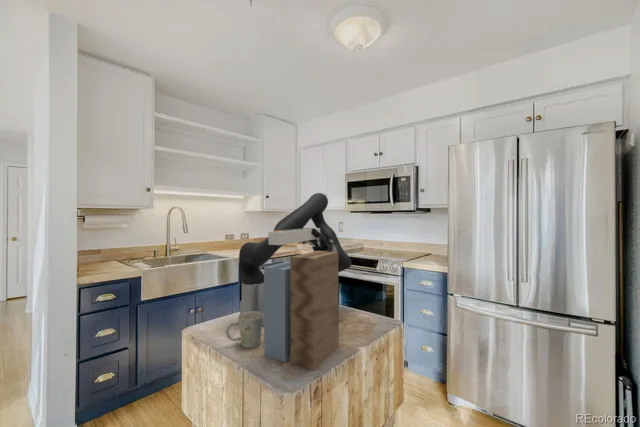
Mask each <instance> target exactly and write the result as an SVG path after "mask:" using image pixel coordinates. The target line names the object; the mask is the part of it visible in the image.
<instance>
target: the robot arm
mask: <svg viewBox="0 0 640 427" xmlns="http://www.w3.org/2000/svg"><path fill="white" fill-rule="evenodd" d="M328 199H329V198H328V197H327V195H325V194H324V193H323V192H322V193H320V192H316V193H314V194H312V195H311V196H310V197H309V198H308V199H307V200H306V201H305V202H304V203H303V204H302V205H301V206H299V207H297V208H296V209H294V210H293V211H291V212H290V213H289V214H287V215H286V216H285V217H284V218H282V219H281V220H279V221H278V222H277V223H276V225H274V228H273V230H272V231H280V230H291V229H302V228H305V226H306V225H307V224H308V223H309V221H310V220H311V221H312V222H313V225H314V226H315V227H311V228H312V231H311V233H312V235H313V236H314V237H316V239H314V240H308V241H302V242H301V243H302V244H303V245H306V243H308V244H309V245H310V246H311V247H312V250H313V252H314V251H329V252H338V274H339V273H340V272H341V273H342V272H343V271H345V270H347V269H350V268H351V266H352V260H351V257H350V256H349V255H348V254H347V253H346V252H345V250H344V249H343V247H342V245H341V243H340V241H339V238H338V236H337V234H336V232H335V231H334V229H333V228H331V227H330V225H329V224H328V223H327V222H326V220H325V218H324V211H325V210H326V209H327V207H328V205H329V200H328ZM315 228H320V232H318V231H317V230H316V229H315ZM283 246H284V245H269V241H268V236H267V237H266V238H265V239H263V240H261V241H260V242H252V241H250V242H245V243H244V244H243V245H242V246H241V247H240V250H239V254H238V265H239V266H238V267H239V269H238V270H239V276H240V278H241V300H240V301H239V315H240V314H242V313H245V312H252V311H255V312H261V313H262V314H263V321H262V327H264V272H262V270H261V268H260V266H263V265H264V264H266V263H267V262H268V261H269V260H270V259H271V258H272V257H273V256H274V254H276V252H278V251H279V249H280V248H282V247H283Z"/></svg>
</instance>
